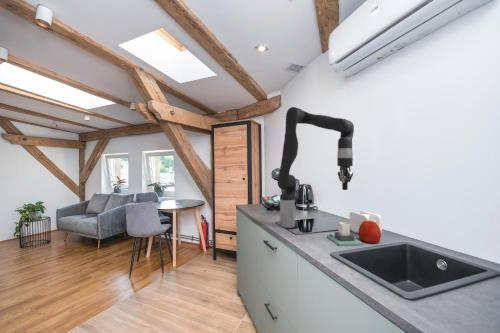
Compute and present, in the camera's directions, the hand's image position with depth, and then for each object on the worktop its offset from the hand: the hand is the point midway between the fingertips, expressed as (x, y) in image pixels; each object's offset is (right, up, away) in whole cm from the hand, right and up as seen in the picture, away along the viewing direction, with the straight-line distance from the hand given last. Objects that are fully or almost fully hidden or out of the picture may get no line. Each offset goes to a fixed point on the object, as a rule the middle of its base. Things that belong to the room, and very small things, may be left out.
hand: (344, 189), depth 118 cm
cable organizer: (+15, -26, +9) cm, 31 cm away
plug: (-2, -25, -4) cm, 25 cm away
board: (-2, -26, -4) cm, 26 cm away
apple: (+11, -26, -5) cm, 28 cm away
